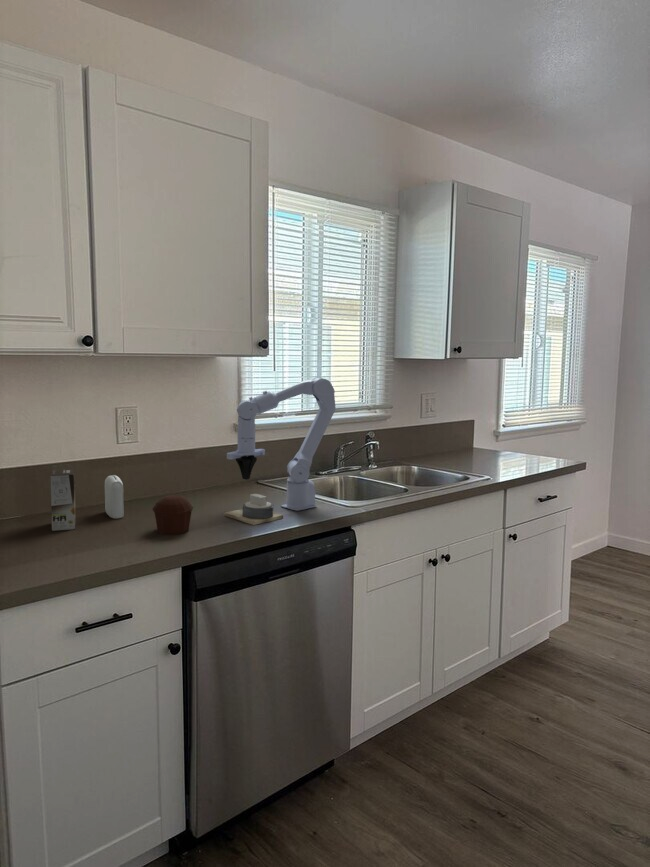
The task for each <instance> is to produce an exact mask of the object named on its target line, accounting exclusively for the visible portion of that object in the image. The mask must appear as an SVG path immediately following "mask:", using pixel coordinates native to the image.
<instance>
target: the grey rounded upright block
mask: <svg viewBox="0 0 650 867" xmlns="http://www.w3.org/2000/svg"><path fill="white" fill-rule="evenodd" d="M104 502H105V503H104V506H105V508H104V510H105V513H106V514H107V515H108V516H109V518H111V519H121V518H123V517H124V515H125V514H124V483H123V481H122V479H121V478H120V477H119V476H117V475H116V474H113V475H108V476H107V477H106V478H105V480H104Z"/></svg>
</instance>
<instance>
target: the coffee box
mask: <svg viewBox="0 0 650 867" xmlns="http://www.w3.org/2000/svg"><path fill="white" fill-rule="evenodd" d="M49 476H50V477H49V479H50V480H49V481H50V507H51V508H50V512H51V531H54V532H55V531H66V530H67V531H68V530H69V531H70V530H75V528H76V486H75V485H76V484H75V483H76V481H75V469H74V468H58V469H51V471H50V474H49Z"/></svg>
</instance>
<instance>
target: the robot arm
mask: <svg viewBox="0 0 650 867" xmlns="http://www.w3.org/2000/svg"><path fill="white" fill-rule="evenodd" d="M300 395H307V396H308V395H309V396H313V397H314V398H315V400H316V404H317V405H318V410H317V413H316V415H315V417H314V419H313V421H312V423H311V425H310V427H309V429H308V432H306V433H307V434H306V436H305V438H304V440H303V442H302V444H301V446H300V448H299V450H298V451H297V453H296V454H295V455H294V457H293V459H291V460H290V461H289V462H288V464H287V466H286V471H287V474H288V475H289V476H288V478H287V479H286V503H285V504H281V505H280V507H281V508H286V509H287V510H288V509H289V510H293V511H296V512H298V511H303V510H307V509H313V508H316V507H317V506H318V505H317V504H316V485H315V483H314V481H312V479H309V477H310V469H311V466H312V462H313V457H314V455H315V453H316V451H317V450H318V446H319V445H320V443H321V440H322V438H323V436H324V434H325V432H326V430H327V428H328V426H329V424H330V422H331V420H332V418H333V416H334V414H335V412H336V399H335V388H334V387H333V385H332V383H331V381H330V380H329V379H326V378H323V377H319V376H316V377H314V378H312V379H305V380H303V381H300V382H298V383H296V384H293V385H291V386H288V387H286V388H284V389H282V390H279V391H277V392H274V391H271V390H269V391H267V390H264V391H262V393H261V394H259V395H255V396H254V397H252V396H251V397H249V398H248V399H247V400H242V401H240V402H239V404H238V405H237V409H236V413H237V414H238V418H237V421H238V422H237V449H236V450H235V451H234V450H233V451H231V452H226V460H235V461H236V463H237V465H238V467H239V470H240V474H241V477H242V480H245V481H246V480H250V478H251V474H252V472H253V467H254V465H255V464H256V462H257V461H258V459H257V456H265V455H266V449H264V448H256V423H255V422H256V415H261V414H264V413H266V412H269V411H271V410H273V409H276V408H278V405H279V403H280V402H283V401H287V400H288V399H291V398H294V397H298V396H300Z"/></svg>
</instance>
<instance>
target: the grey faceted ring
mask: <svg viewBox="0 0 650 867" xmlns="http://www.w3.org/2000/svg"><path fill="white" fill-rule="evenodd" d="M242 509H243V517H246V518H249V519H266V518H271V517H273V512H274V504H272V503H271V507H269V508H265V509H252V508H247V507H246V506H245V503H243V506H242Z"/></svg>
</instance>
